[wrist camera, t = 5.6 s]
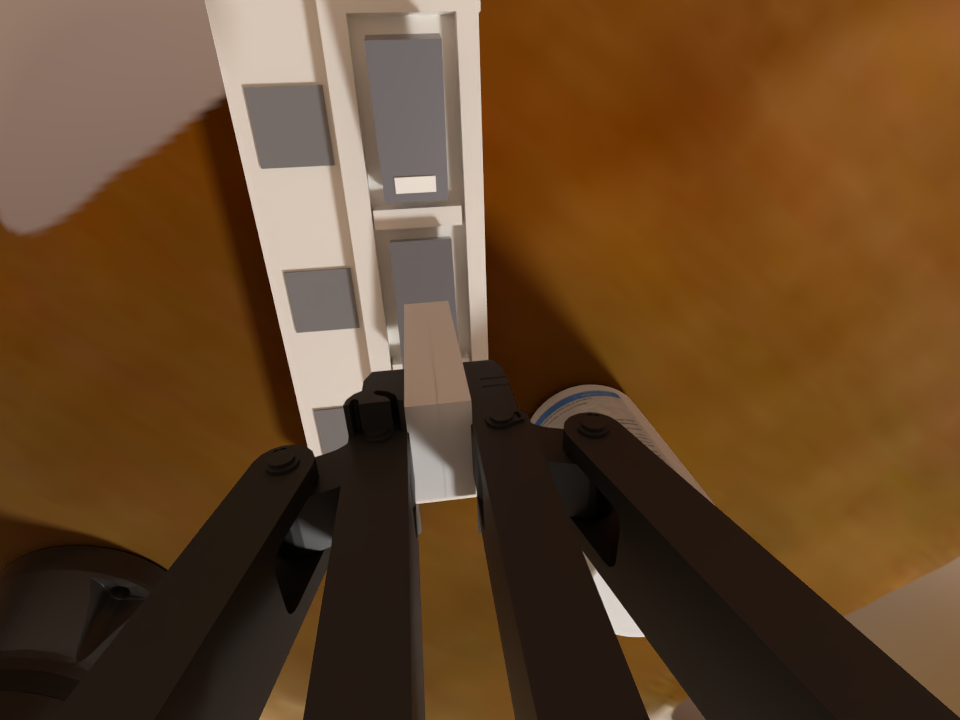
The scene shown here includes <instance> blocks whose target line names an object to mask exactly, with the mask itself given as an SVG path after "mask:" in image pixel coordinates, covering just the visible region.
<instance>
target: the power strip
mask: <svg viewBox="0 0 960 720" xmlns="http://www.w3.org/2000/svg"><path fill="white" fill-rule="evenodd" d="M204 2H205V6H206V10H207V15H208V18H209V23H210V28H211V32H212V36H213V40H214V45H215V49H216V53H217V58H218V62H219V66H220V71H221V75H222V79H223V84H224V88H225V92H226V97H227V101H228V105H229V109H230V114H231V118H232V122H233V127H234V131H235V135H236V140H237V144H238V148H239V153H240V157H241V161H242V166H243V170H244V174H245V179H246V183H247V187H248V191H249V196H250V200H251V204H252V209H253V213H254V217H255V222H256V226H257V230H258V235H259V239H260V243H261V248H262V252H263V256H264V260H265V265H266V269H267V273H268V278H269V282H270V286H271V291H272V295H273V299H274V304H275V308H276V312H277V317H278V321H279V325H280V329H281V334H282V338H283V342H284V347H285V351H286V355H287V360H288V364H289V368H290V373H291V377H292V381H293V386H294V390H295V394H296V398H297V403H298V407H299V411H300V416H301V420H302V424H303V429H304V433H305V437H306V442H307V446H308V448H309V449H310V450H312V451H313V453H314V456H315V457H317V456H320V455H323V454H326V453H329V452H332V451H334V450H337V449H339V448H341V447H342V446H344V445H346V444H347V443H348V437H349V436H348V431H347V425H346V420H345V414H344V409H343V405H344V403H345V401H346V400H347V399H348V398H349V397H351V396H352V395H353V394H355V393H358V392H360V391H362V387H363V381H364V380H365V379H366V378H367V377H368V376H369V375H370V373H371V372H376V371H387V370H398V369H403V367H402V357H401V348H400V339H399V330H398V320H397V311H396V302H395V292H394V283H393V274H392V265H391V255H390V246H389V242H390V240H399V239H415V238H431V237H446V236H450V237H451V240H452V255H453V269H454V284H455V299H456V314H457V328H458V343H459V349H460V354H461V358H462V362H471V361H482V360H488V329H487V294H486V260H485V225H484V190H483V155H482V121H481V86H480V51H479V17H478V13H479V12H480V11H481V10H480V0H204ZM426 33H439V34H440V36H441V38H442V57H443V80H444V103H445V127H446V150H447V174H448V197H449V200H443V201H425V202H407V203H390V204H385V199H384V192H383V184H382V176H381V168H380V161H379V153H378V145H377V137H376V130H375V122H374V114H373V106H372V99H371V91H370V83H369V75H368V68H367V60H366V52H365V44H364V38H365V35H382V34H426ZM471 497H477V491H476V494H474V495H465V496H457V497H449V498H440V499H432V500H424V501H416V509H417V517H418V535H419V534H420V533H421V532H422V528H421V519H420V511H419V504H420V503H428V502H437V501H445V500H454V499H462V498H471Z"/></svg>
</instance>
